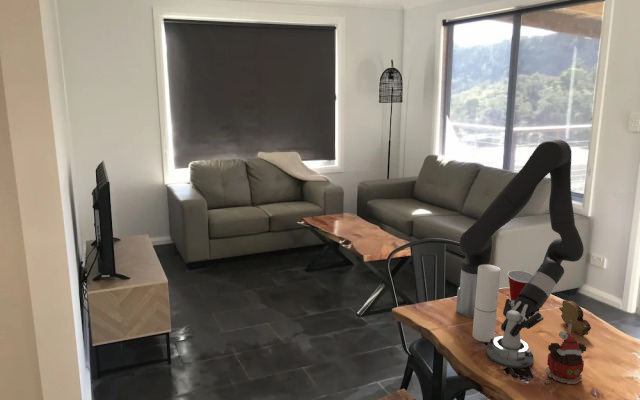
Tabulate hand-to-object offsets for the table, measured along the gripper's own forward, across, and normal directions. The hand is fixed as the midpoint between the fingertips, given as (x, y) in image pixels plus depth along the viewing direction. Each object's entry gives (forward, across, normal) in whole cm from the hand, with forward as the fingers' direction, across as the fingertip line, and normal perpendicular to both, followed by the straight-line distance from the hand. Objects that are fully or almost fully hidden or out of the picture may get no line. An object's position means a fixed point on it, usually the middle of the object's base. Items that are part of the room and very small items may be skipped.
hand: (507, 332), depth 160 cm
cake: (+1, +16, +12) cm, 19 cm away
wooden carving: (-20, -4, +33) cm, 39 cm away
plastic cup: (-21, -28, +34) cm, 49 cm away
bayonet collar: (+5, 0, +8) cm, 9 cm away
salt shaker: (+3, 0, +6) cm, 7 cm away
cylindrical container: (+3, -14, +10) cm, 17 cm away
